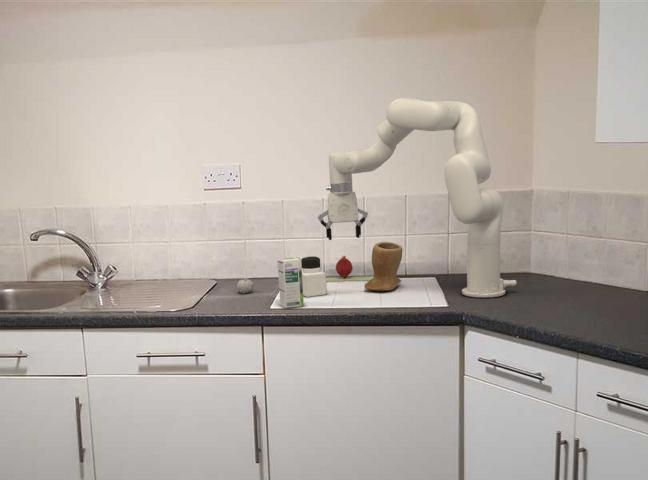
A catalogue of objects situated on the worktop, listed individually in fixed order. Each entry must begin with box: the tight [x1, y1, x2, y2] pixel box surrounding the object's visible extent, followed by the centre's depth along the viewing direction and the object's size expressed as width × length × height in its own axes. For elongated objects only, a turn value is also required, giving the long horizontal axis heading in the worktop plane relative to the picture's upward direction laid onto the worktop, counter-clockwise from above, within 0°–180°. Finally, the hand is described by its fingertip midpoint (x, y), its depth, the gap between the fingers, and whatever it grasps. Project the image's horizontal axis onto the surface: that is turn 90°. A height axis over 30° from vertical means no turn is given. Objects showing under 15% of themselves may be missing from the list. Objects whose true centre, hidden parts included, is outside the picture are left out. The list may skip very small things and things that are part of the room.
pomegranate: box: [335, 255, 353, 278], centre depth 264 cm, size 6×6×8 cm
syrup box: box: [277, 256, 305, 309], centre depth 226 cm, size 6×6×14 cm
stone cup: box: [364, 241, 403, 292], centre depth 243 cm, size 15×12×15 cm
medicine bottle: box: [300, 255, 328, 298], centre depth 242 cm, size 7×7×12 cm
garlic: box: [236, 277, 254, 295], centre depth 250 cm, size 6×5×5 cm
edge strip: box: [326, 275, 374, 282], centre depth 264 cm, size 20×6×1 cm, turn 81°
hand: (343, 238), depth 262 cm, fingers open, 9 cm apart
